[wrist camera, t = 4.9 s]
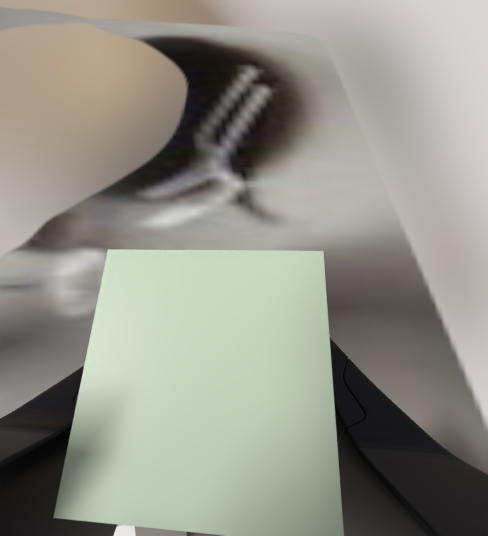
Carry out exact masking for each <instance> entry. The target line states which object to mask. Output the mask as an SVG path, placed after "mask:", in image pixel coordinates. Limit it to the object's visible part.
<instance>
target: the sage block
mask: <svg viewBox="0 0 488 536" xmlns="http://www.w3.org/2000/svg"><path fill="white" fill-rule="evenodd" d="M53 518H60V519H69V520H79V521H89V522H98V523H108V524H118V525H127V526H137V527H147V528H156V529H166V530H175V531H185V532H195V533H204V534H214V535H224V536H344V529H343V515H342V502H341V488H340V474H339V460H338V447H337V433H336V419H335V405H334V392H333V378H332V364H331V350H330V337H329V323H328V309H327V295H326V282H325V268H324V254H323V251H240V250H108V252H107V257H106V262H105V266H104V271H103V276H102V281H101V286H100V291H99V296H98V301H97V306H96V311H95V316H94V320H93V325H92V330H91V335H90V340H89V345H88V350H87V355H86V360H85V365H84V370H83V374H82V379H81V384H80V389H79V394H78V399H77V404H76V409H75V414H74V419H73V424H72V428H71V433H70V438H69V443H68V448H67V453H66V458H65V463H64V468H63V473H62V478H61V482H60V487H59V492H58V497H57V502H56V507H55V512H54V517H53Z"/></svg>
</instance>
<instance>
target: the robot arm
mask: <svg viewBox="0 0 488 536" xmlns="http://www.w3.org/2000/svg"><path fill="white" fill-rule="evenodd" d="M330 350H331V364H332V378H333V392H334V405H335V419H336V433H337V447H338V460H339V474H340V488H341V502H342V515H343V529H344V536H488V475H487V474H486V473H484V472H482V471H480V470H478V469H476V468H475V467H473V466H471V465H469V464H467V463H466V462H464V461H462V460H461V459H459V458H458V457H456V456H455V455H453V454H452V453H450V452H449V451H448V450H446V449H445V448H444V447H442V446H441V445H440V444H439V443H437V442H436V441H435V440H434V439H433V438H431V437H430V436H429V435H428V434H427V433H426V432H425V431H424V430H423V429H421V428H420V427H419V426H418V425H417V424H416V423H415V422H414V421H413V420H412V419H411V418H410V417H408V416H407V415H406V414H405V413H404V412H403V411H402V410H401V409H400V408H399V407H398V406H397V405H395V404H394V403H393V402H392V401H391V400H390V399H389V398H388V397H387V396H386V395H385V394H384V393H383V392H382V391H381V390H379V389H378V388H377V387H376V386H375V385H374V384H373V383H372V382H371V381H370V380H369V379H368V378H367V377H366V376H365V375H364V374H363V373H362V372H361V371H360V370H359V369H358V367H357V366H356V365H355V364H354V363H353V362H352V361H351V360H350V359H348V357H347V356H346V355H345V354H344V352H343V351H342V350H341V349H340V348H339V347H338V346H337V345H336V344H335V343H334V342H333V341H332V339H331V338H330ZM83 370H84V366H83V367H81V368H80V369H78V370H77V371H75V372H74V373H72V374H71V375H69V376H68V377H66V378H65V379H63V380H61V381H60V382H58V383H57V384H55V385H54V386H52V387H51V388H49V389H48V390H46V391H44V392H43V393H41V394H40V395H38V396H37V397H35V398H34V399H32V400H31V401H29V402H27V403H26V404H24V405H23V406H21V407H20V408H18V409H16V410H15V411H13V412H11V413H10V414H8V415H6V416H4V417H2V418H0V536H113V535H114V533H115V530H116V527H117V525H118V524H108V523H98V522H89V521H79V520H69V519H60V518H53V517H54V512H55V507H56V502H57V497H58V492H59V487H60V482H61V478H62V473H63V468H64V463H65V458H66V453H67V448H68V443H69V438H70V433H71V428H72V424H73V419H74V414H75V409H76V404H77V399H78V394H79V389H80V384H81V379H82V374H83Z"/></svg>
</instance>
